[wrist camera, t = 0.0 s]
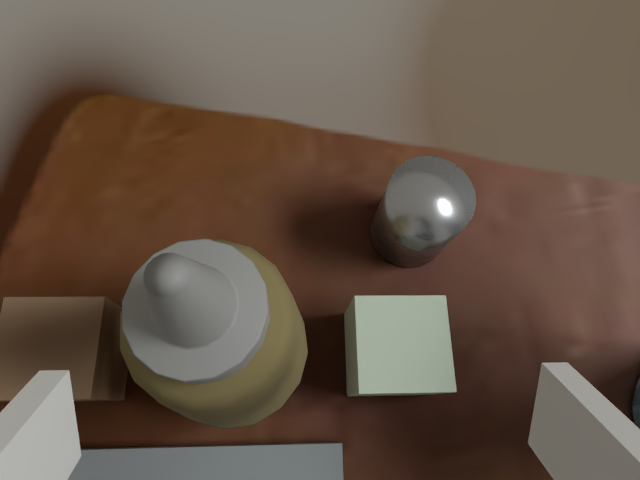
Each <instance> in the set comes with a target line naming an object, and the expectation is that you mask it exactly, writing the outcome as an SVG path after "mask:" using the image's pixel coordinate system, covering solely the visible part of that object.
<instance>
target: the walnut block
mask: <svg viewBox="0 0 640 480" xmlns="http://www.w3.org/2000/svg"><path fill="white" fill-rule="evenodd" d="M121 311H122V307H121V306H119V305H118V304H116V303H114V302H113V301H111V300H109V299H108V298H106V297H4V299H3V304H2V308H1V313H0V401H6V402H11V400H12V399H13V398H14V397H15V396H16V395H17V394H18V393H19V392H20V391H21V390H22V389H23V388H24V387H25V385H26V384H27V383H28V382H29V381H30V380H31V379H32V378H33V377H34V376H35V375H36V374H37V373H38V372H39V371H44V370H69V372H70V379H71V386H72V393H73V400H74V402H75V401H124V399H125V390H126V382H127V373H128V367H127V365H126V362H125V360H124V358H123V356H122V353H121V351H120V313H121Z"/></svg>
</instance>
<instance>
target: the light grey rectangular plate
mask: <svg viewBox="0 0 640 480" xmlns="http://www.w3.org/2000/svg"><path fill="white" fill-rule="evenodd" d="M67 480H343V453H342V443H341V442H323V443H283V444H244V445H205V446H166V447H127V448H88V449H81V457H80V459H79V461H78V463H77V464H76V466H75V468H74V469H73V471H72V473H71V474H70V476H69V478H68V479H67Z"/></svg>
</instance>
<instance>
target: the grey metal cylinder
mask: <svg viewBox="0 0 640 480" xmlns="http://www.w3.org/2000/svg"><path fill="white" fill-rule="evenodd" d="M475 207H476V195H475V190H474V187H473V185H472V183H471V181H470V179H469V178H468V176H467V175H466V174H465V173H464V172H463V171H462V170H461V169H460V168H459V167H458V166H456V165H455V164H453V163H452V162H450V161H448V160H445V159H443V158H439V157H434V156H420V157H416V158H412V159H410V160H408V161H406V162H404V163H403V164H401V165H400V166H399V167H398V168H397V169H396V170H395V172H394V173H393V175H392V177H391V179H390V181H389V184H388V186H387V188H386V190H385V192H384V195H383V197H382V199H381V201H380V204H379V206H378V208H377V210H376V212H375V215H374V217H373V219H372V222H371V227H370V234H371V239H372V243H373V245H374V247H375V249H376V250H377V252H378V253H379V254H380V255H381V256H382V257H383V258H384V259H385V260H386V261H388V262H390V263H391V264H393V265H396V266H399V267H403V268H416V267H420V266H423V265H425V264H427V263H429V262H430V261H432V260H433V259H434V258H435V257H436V256H437V255H438V254H439V253H440V252H441V251H442V250H443V249H444V248H445V247H446V246H447V244H448V243H449V242H450V241H451V240H452V239H453V238H454V237H455V236H456V235H457V234H458V233H459V232H460V231H461V230H462V229H463V228H464V227H465V226H466V225H467V224H468V223H469V221H470V220H471V218H472V216H473V214H474V211H475Z"/></svg>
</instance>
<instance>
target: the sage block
mask: <svg viewBox="0 0 640 480" xmlns="http://www.w3.org/2000/svg"><path fill="white" fill-rule="evenodd" d="M344 327H345V355H346V382H347V396H394V395H432V394H443V393H453V392H457V390H456V381H455V372H454V363H453V354H452V346H451V337H450V328H449V319H448V310H447V302H446V295H431V296H354V298H353V299H352V301H351V303H350V304H349V306H348V308H347V309H346V311H345V313H344Z"/></svg>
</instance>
